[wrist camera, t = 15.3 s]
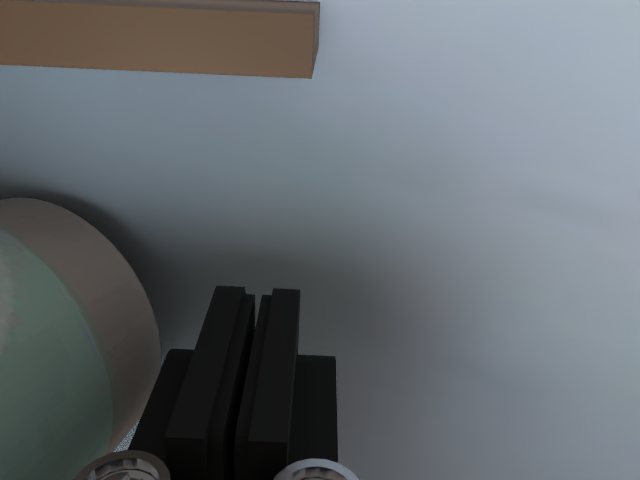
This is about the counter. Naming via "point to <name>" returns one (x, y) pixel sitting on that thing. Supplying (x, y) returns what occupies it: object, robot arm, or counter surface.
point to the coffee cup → (67, 343)
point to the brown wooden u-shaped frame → (163, 35)
